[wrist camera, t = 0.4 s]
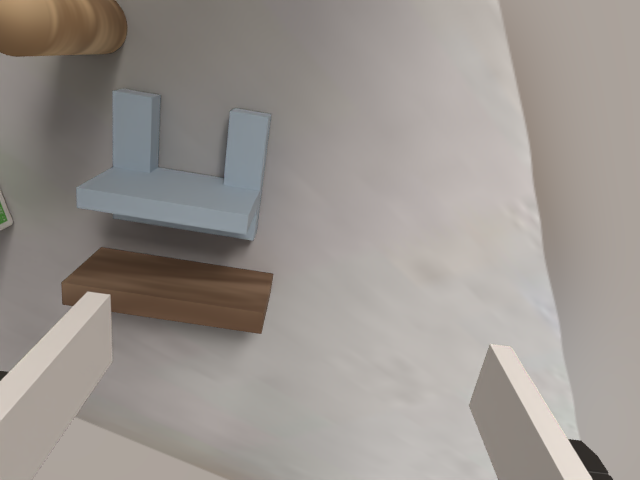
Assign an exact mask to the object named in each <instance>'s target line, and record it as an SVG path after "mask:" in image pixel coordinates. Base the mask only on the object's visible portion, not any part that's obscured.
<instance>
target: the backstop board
mask: <svg viewBox="0 0 640 480" xmlns="http://www.w3.org/2000/svg"><path fill="white" fill-rule="evenodd" d="M272 279H273V274H271V273H265V272H258V271H252V270H245V269H239V268H232V267H226V266H220V265H213V264H207V263H200V262H194V261H187V260H181V259H174V258H168V257H161V256H155V255H148V254H142V253H135V252H129V251H123V250H116V249H110V248H103V247H101V248H100V249H99V250H98V251H96V252H95V253H94V254H93V255H92V256H91V257H90V258H89V259H87V260H86V261H85V262H84V263H83V264H82V265H81V266H80V267H78V268H77V269H76V270H75V271H74V272H73V273H72V274H70V275H69V276H68V277H67V278H66V279H65V280H64V281H63V282H61V284H62V304H63V305H69V306H74V305H75V304H76V303H77V302H78V301H79V300H80V299H81V298H82V297H83V296H84V295H85V294H86V293H87V292H95V293H102V294H110V295H111V312H117V313H124V314H130V315H137V316H144V317H151V318H157V319H164V320H171V321H178V322H184V323H191V324H198V325H205V326H212V327H218V328H225V329H232V330H239V331H245V332H252V333H259V334H261V333H262V328H263V324H264V319H265V315H266V311H267V306H268V302H269V297H270V293H271V286H272Z"/></svg>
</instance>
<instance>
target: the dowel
mask: <svg viewBox="0 0 640 480" xmlns="http://www.w3.org/2000/svg"><path fill="white" fill-rule="evenodd" d="M126 35H127V21H126V17H125V15H124V12H123V10H122V9H121V7H120V6H119V4H118V3H117V2H116V1H115V0H0V52H1V53H3V54H6V55H10V56H16V57H18V56H53V55H88V54H109V53H112V52H114V51H116V50H117V49H119V48H120V47H121V46H122V44H123V43H124V41H125V38H126Z"/></svg>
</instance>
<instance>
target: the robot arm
mask: <svg viewBox="0 0 640 480" xmlns="http://www.w3.org/2000/svg"><path fill="white" fill-rule="evenodd" d="M112 361H113V355H112V325H111V295H110V294H102V293H95V292H87V293H86V294H85V295H84V296H83V297H82V298H81V299H80V300H79V301H78V302H77V303H76V304H75V305H74V306H73V307H72V308H71V309H70V310H69V311H68V312H67V313H66V314H65V315H64V316H63V317H62V318H61V319H60V320H59V321H58V322H57V323H56V324H55V325H54V327H53V328H52V329H51V330H50V331H49V332H48V333H47V334H46V335H45V336H44V337H43V338H42V339H41V340H40V341H39V342H38V343H37V344H36V345H35V346H34V347H33V348H32V349H31V350H30V351H29V352H28V353H27V354H26V355H25V356H24V357H23V358H22V359H21V360H20V361H19V362H18V364H17V365H16V366H15V367H14V368H13V369H12V370H11V371H10V372H4V371H0V480H32V479H33V478H34V476H35V475H36V473H37V472H38V470H39V469H40V468H41V466H42V465H43V463H44V462H45V460H46V459H47V457H48V456H49V454H50V453H51V451H52V450H53V448H54V447H55V445H56V444H57V443H58V441H59V440H60V438H61V437H62V435H63V433H64V432H65V431H66V429H67V428H68V426H69V425H70V423H71V422H72V420H73V419H74V417H75V416H76V415H77V413H78V412H79V410H80V409H81V407H82V406H83V404H84V403H85V401H86V400H87V398H88V397H89V395H90V394H91V392H92V391H93V389H94V388H95V386H96V385H97V384H98V382H99V381H100V379H101V378H102V376H103V375H104V373H105V372H106V370H107V369H108V367H109V366H110V364H111V363H112ZM469 407H470V409H471V412H472V414H473V417H474V419H475V422H476V425H477V427H478V430H479V432H480V435H481V437H482V440H483V442H484V445H485V447H486V450H487V452H488V455H489V457H490V460H491V462H492V465H493V467H494V470H495V472H496V475H497V478H498V480H613V479H612V477H611V476H609V475H608V471H607V470H606V468H605V467H604V465H603V464H602V462H601V460H600V459H599V457H598V456H597V455H596V454H595V453H594V452H593V451H592V450H591V449H589V448H588V447H587V446H586V445H585V444H584V443H583V442H582V441H579V440H571V439H567V437H566V435H565V434H564V432H563V430H562V429H561V427H560V426H559V424H558V422H557V421H556V419H555V417H554V416H553V414H552V413H551V411H550V409H549V408H548V406H547V404H546V403H545V401H544V400H543V398H542V396H541V395H540V393H539V391H538V390H537V388H536V386H535V385H534V383H533V382H532V380H531V378H530V377H529V375H528V373H527V372H526V370H525V369H524V367H523V365H522V364H521V362H520V360H519V359H518V357H517V356H516V354H515V352H514V351H513V349H512V347H509V346H501V345H494V344H490V345H489V348H488V351H487V354H486V357H485V360H484V363H483V365H482V368H481V371H480V374H479V377H478V380H477V383H476V386H475V389H474V392H473V395H472V398H471V401H470V404H469Z"/></svg>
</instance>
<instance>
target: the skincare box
mask: <svg viewBox="0 0 640 480" xmlns="http://www.w3.org/2000/svg"><path fill="white" fill-rule="evenodd" d="M12 224H13V220H12V217H11V215H10V213H9V211H8V208H7V206H6V203H5V200H4V197H3V195H2V192H1V190H0V231H1V230H3V229H5V228H7V227H9V226H11V225H12Z"/></svg>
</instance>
